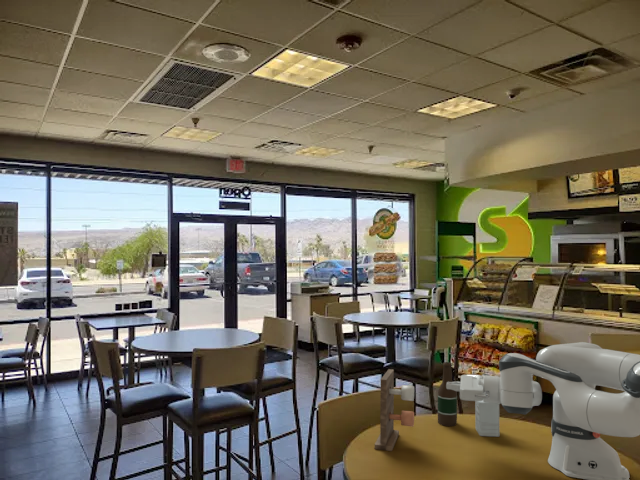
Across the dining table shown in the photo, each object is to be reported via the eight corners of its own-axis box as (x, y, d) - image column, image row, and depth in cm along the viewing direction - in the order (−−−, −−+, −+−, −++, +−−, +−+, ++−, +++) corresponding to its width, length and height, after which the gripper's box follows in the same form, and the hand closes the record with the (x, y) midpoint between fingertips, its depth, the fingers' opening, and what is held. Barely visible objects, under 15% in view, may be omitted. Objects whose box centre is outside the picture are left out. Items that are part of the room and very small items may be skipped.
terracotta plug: (414, 423, 172) (414, 409, 172) (412, 428, 168) (412, 414, 168) (386, 420, 175) (386, 406, 176) (384, 425, 171) (384, 411, 171)
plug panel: (398, 434, 179) (399, 369, 180) (391, 451, 164) (392, 380, 165) (382, 432, 181) (383, 368, 182) (374, 448, 166) (374, 378, 167)
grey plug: (414, 398, 173) (414, 384, 173) (412, 402, 168) (412, 388, 168) (386, 395, 176) (386, 382, 176) (384, 399, 171) (384, 385, 171)
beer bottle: (433, 423, 192) (433, 362, 193) (443, 418, 198) (443, 359, 198) (451, 428, 187) (451, 366, 187) (460, 423, 192) (460, 362, 193)
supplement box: (494, 430, 185) (494, 397, 185) (499, 437, 178) (499, 402, 178) (474, 429, 186) (474, 396, 186) (479, 436, 178) (479, 402, 179)
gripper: (489, 407, 152) (444, 403, 157) (487, 390, 172) (447, 387, 176) (489, 387, 153) (445, 383, 157) (487, 372, 172) (447, 369, 176)
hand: (446, 385), depth 167 cm, fingers closed
